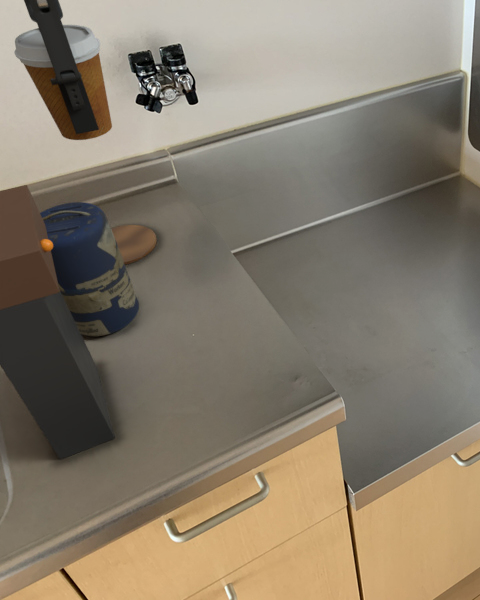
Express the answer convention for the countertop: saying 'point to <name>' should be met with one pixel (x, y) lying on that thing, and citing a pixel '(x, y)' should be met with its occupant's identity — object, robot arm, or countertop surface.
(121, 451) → the countertop surface
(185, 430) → the countertop surface
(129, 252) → the cork coaster
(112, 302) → the canister
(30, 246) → the wood-topped grey pedestal
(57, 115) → the disposable coffee cup
